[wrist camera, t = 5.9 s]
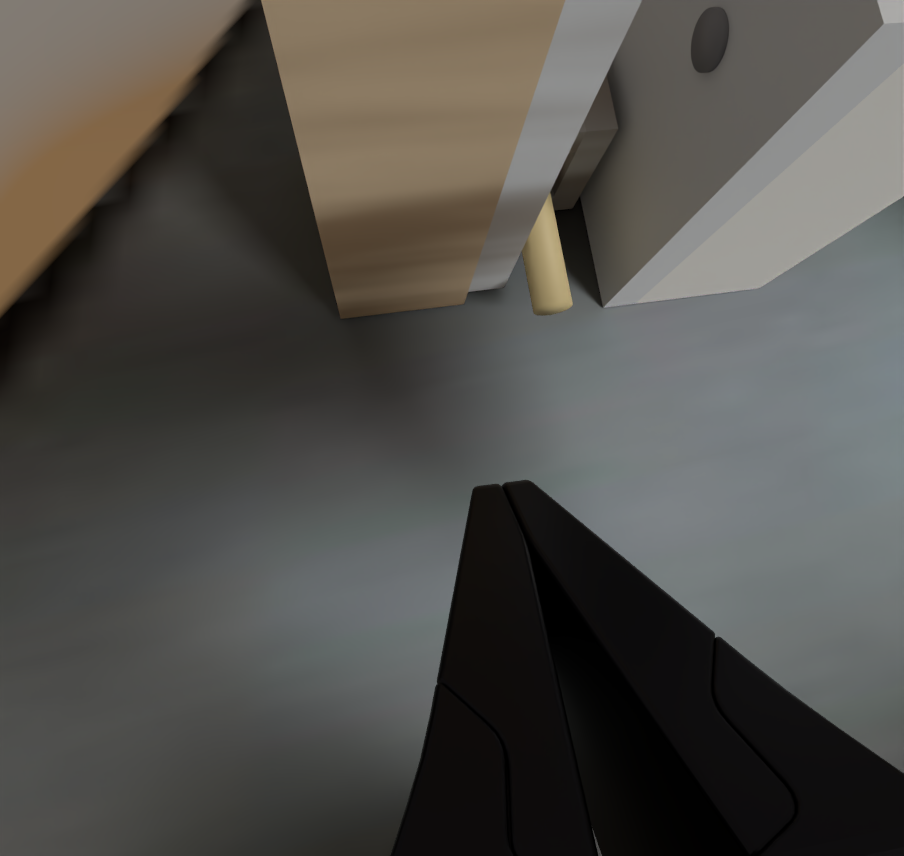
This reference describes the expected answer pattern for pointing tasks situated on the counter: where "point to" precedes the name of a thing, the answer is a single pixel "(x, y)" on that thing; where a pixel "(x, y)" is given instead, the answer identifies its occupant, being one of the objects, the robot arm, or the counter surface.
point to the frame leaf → (735, 147)
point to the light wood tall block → (442, 133)
